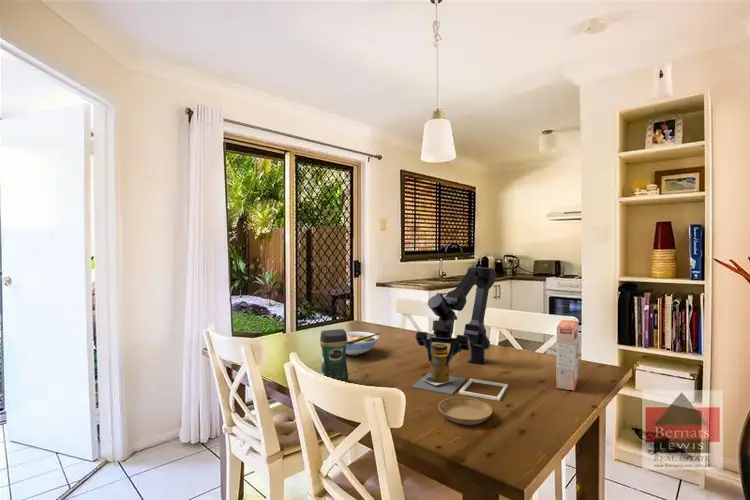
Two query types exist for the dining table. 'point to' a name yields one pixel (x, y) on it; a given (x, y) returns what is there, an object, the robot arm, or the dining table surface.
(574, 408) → the dining table surface
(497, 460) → the dining table surface
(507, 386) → the ceramic frame
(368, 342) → the ramen bowl
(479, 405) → the plant saucer
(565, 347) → the cracker box
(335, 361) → the coffee jar
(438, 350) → the condiment
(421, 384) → the rubber mat
